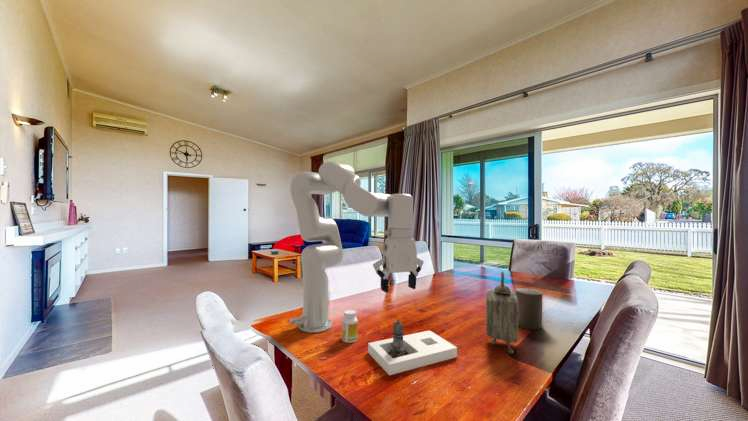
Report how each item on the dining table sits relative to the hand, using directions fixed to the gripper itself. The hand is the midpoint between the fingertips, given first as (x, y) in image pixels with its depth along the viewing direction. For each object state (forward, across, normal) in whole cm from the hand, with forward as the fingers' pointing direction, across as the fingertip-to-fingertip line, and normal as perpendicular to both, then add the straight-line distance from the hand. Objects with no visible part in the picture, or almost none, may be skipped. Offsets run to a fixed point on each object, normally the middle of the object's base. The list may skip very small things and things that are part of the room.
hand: (398, 289), depth 90 cm
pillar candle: (+21, +61, +1) cm, 65 cm away
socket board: (+21, +5, 0) cm, 22 cm away
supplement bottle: (+22, -9, +18) cm, 29 cm away
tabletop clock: (+21, +36, -7) cm, 42 cm away
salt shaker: (+21, 0, 0) cm, 21 cm away
